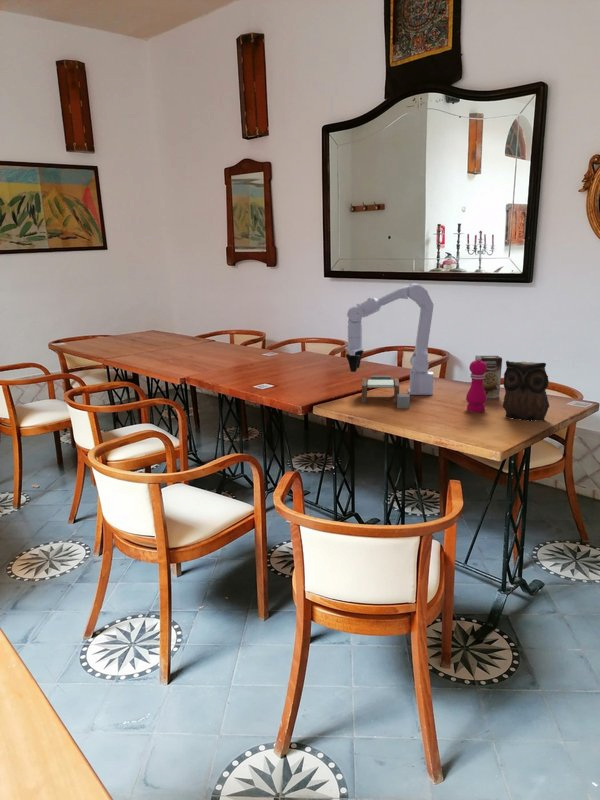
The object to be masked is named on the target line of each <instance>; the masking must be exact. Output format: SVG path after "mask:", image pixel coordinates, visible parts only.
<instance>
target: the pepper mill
mask: <svg viewBox="0 0 600 800" xmlns="http://www.w3.org/2000/svg"><path fill="white" fill-rule="evenodd" d="M476 356H477V357H476V360H475V359H474V360H473V361H471V362H470V364H469V371H470V379H471V384H470V387H469V389H468V391H467V392H466V395H465V396H466V397H465V400H466V402H467V403H468V404H467V405H466V411H468V412H470V411H471V413H483V412H485V410H486V406H485V403H486V402H487V400H488V398H487V396H486V393H485V390H484V388H483V379H484V378H485V374H484V373H485V372H486V370H487V365H486V363H485V362H483V361H481V357H480V356H481V355H476Z"/></svg>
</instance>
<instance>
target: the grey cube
mask: <svg viewBox="0 0 600 800" xmlns="http://www.w3.org/2000/svg"><path fill="white" fill-rule="evenodd" d="M410 398H411V395H410V394H409V393H399V394H397V404H396V408H397V409H410V401H411V399H410Z"/></svg>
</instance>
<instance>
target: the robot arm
mask: <svg viewBox="0 0 600 800" xmlns="http://www.w3.org/2000/svg"><path fill="white" fill-rule="evenodd" d="M399 299H401V300H403V299H405V300H408V299H411V300H412V301H414V302H415V304H417V306H418V307H419V308H420V309H419V318H418V326H417V332H416V340H415V346H414V349H413V354H412V356H411V357H410V360H409V363H410V366H411V368H410V370H409V374H410V375H409V388H408V390H407V391H408V394H409V396H411V395H414V396H415V395H419V396H421V395H422V396H425V395H426V396H429V395H431V396H432V395H434V372H433V371H429V366H430V363H429V360H428V356H429V355H428V354H429V353H428V348H429V340H430V335H431V334H430V333H431V325H432V319H433V312H434V303H433V301H432V299H431V296H430V295H429V293H428V290H427V289H426V288H425V287H424V286H423V285H421V284H419V283H415V282H414V283H413V282H412V283H410V284H409V285H408V284H407V285H404V286H401V287H399V288H397V289H395V290H393V291H391V292H389V293H386V294H385V295H383V296H381V297H379V298H376V297H372V298H371V297H368V298H367V299H366V300H365V301H363V302H361V303H356V306H351V307H350V308H348V311H347V314H346V315H347V318H348V321H347V323H348V325H347V346H345V347H344V349H345V350H347V351H348V352H349V354H345V358H346V359H347V361H348V365H349V370H350V372H351V373H353V372H354V373H356V372H357V370H358V369H359V368H360V366H361V359H362V357H363V353H364V352H365V351H364V349H363V324H362V319H363V318H366V317H369V316H370V315H371V316H372V315H373V314H375V313H377V312H380V309H381V308H382V306H385V305H387V304H390V303H392V302H394V301H398V300H399Z"/></svg>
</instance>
